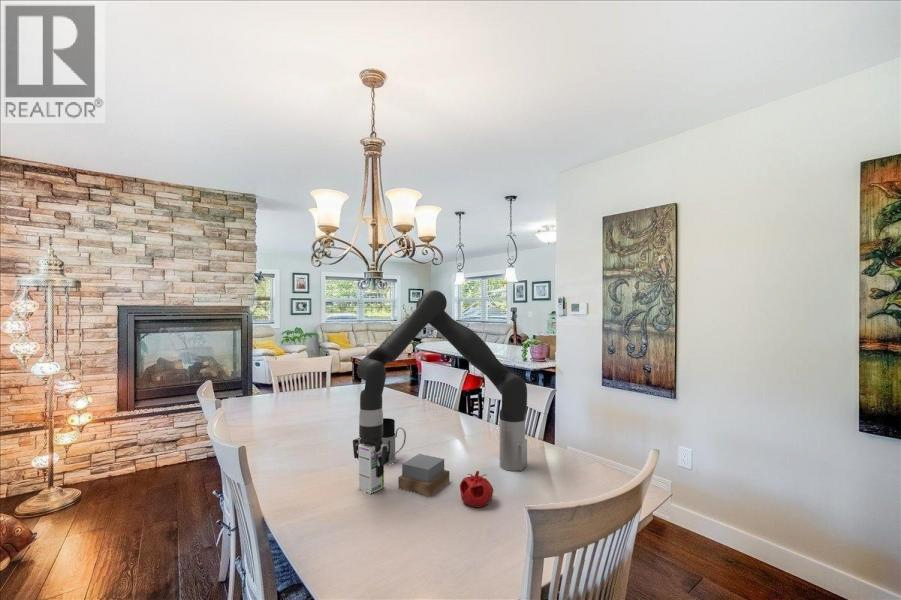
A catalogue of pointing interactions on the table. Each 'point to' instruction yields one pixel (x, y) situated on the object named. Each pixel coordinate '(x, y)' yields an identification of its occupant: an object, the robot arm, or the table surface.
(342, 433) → the table surface
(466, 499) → the pomegranate
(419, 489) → the walnut base block
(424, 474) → the charcoal top block
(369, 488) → the syrup box
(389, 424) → the grey mug
